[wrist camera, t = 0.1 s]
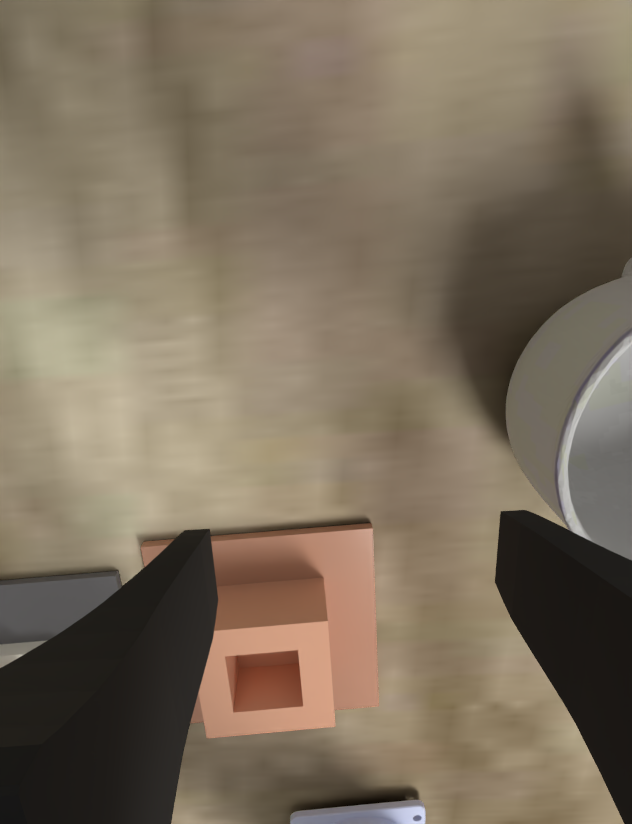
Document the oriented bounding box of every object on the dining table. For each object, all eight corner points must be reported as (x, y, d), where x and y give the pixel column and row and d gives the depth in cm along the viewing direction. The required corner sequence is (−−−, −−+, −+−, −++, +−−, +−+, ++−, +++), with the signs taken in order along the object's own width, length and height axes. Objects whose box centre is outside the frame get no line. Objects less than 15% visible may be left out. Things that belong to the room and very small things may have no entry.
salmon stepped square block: (377, 698, 26) (389, 761, 23) (178, 716, 26) (161, 782, 23) (371, 523, 23) (384, 566, 20) (143, 541, 23) (118, 588, 19)
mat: (158, 752, 27) (156, 759, 26) (-58, 772, 26) (-63, 779, 26) (118, 570, 23) (115, 575, 23) (-132, 591, 23) (-139, 597, 23)
